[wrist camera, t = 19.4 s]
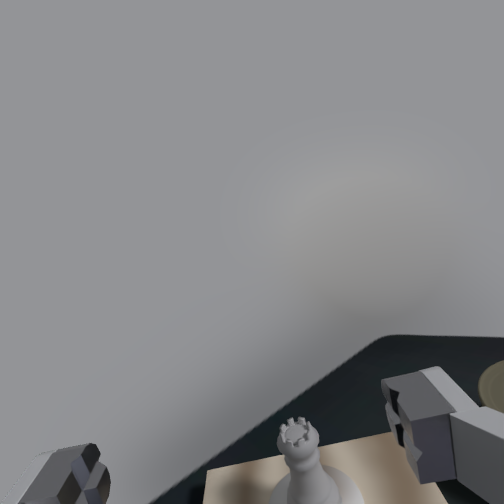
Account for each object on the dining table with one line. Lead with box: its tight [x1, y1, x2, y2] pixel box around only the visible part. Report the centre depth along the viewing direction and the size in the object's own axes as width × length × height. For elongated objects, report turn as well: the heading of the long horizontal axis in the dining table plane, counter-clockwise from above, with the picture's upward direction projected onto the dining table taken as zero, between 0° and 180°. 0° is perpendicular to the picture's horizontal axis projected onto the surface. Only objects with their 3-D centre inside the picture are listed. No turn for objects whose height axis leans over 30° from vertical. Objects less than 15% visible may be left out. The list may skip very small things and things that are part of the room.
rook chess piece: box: [277, 417, 343, 504], centre depth 26 cm, size 4×4×8 cm
